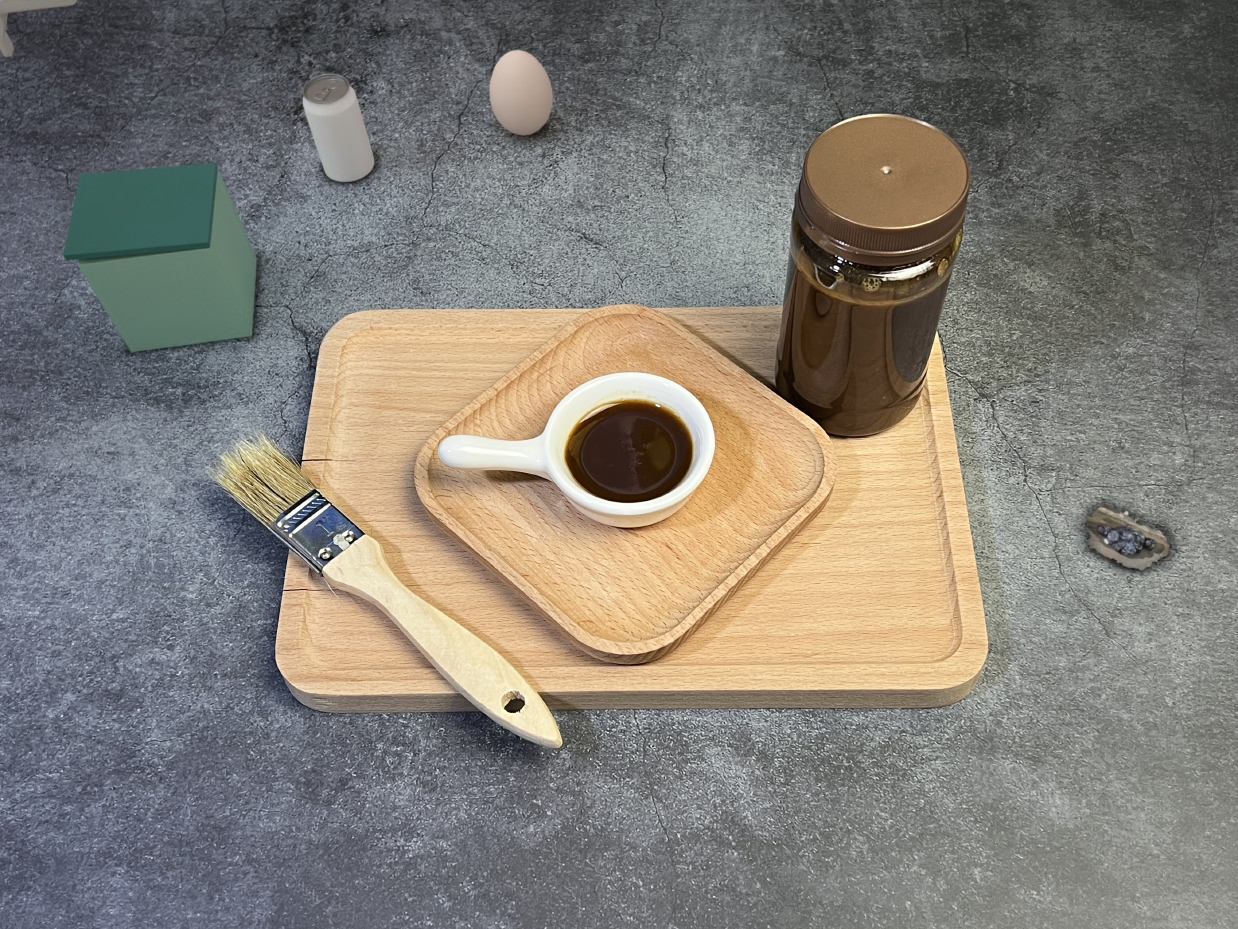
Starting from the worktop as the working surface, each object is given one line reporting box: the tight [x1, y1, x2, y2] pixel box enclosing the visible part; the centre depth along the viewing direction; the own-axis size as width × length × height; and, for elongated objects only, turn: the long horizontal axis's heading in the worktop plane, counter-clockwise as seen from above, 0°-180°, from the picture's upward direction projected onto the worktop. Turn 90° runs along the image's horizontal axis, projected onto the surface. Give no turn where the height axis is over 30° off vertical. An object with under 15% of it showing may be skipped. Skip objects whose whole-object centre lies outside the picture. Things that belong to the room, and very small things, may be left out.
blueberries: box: [1084, 504, 1171, 571], centre depth 105 cm, size 7×8×2 cm
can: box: [301, 73, 375, 183], centre depth 136 cm, size 6×6×12 cm
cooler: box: [77, 168, 258, 353], centre depth 123 cm, size 14×13×14 cm
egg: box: [488, 49, 554, 136], centre depth 139 cm, size 8×8×11 cm
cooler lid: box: [62, 162, 219, 261], centre depth 116 cm, size 14×13×1 cm
